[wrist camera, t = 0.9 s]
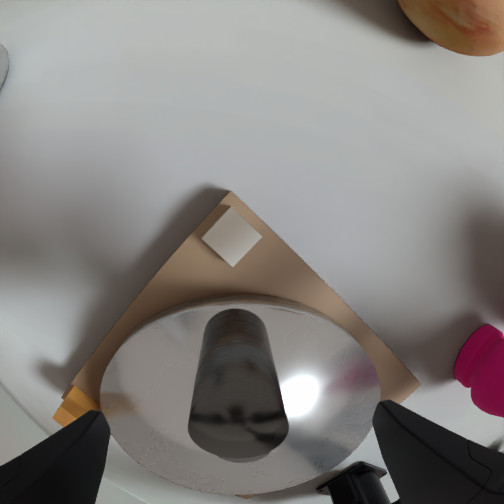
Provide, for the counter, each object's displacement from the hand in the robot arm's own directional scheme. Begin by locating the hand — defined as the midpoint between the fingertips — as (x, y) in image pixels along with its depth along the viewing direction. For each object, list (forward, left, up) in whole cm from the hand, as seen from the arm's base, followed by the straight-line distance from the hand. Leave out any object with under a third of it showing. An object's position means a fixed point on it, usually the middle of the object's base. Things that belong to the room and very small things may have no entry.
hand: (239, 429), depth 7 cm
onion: (+5, -26, -10) cm, 28 cm away
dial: (-5, +5, -8) cm, 11 cm away
